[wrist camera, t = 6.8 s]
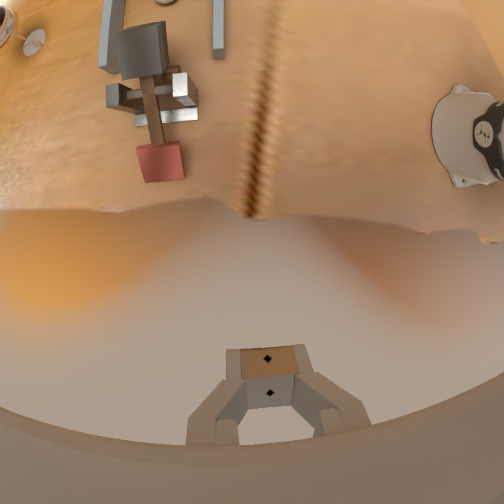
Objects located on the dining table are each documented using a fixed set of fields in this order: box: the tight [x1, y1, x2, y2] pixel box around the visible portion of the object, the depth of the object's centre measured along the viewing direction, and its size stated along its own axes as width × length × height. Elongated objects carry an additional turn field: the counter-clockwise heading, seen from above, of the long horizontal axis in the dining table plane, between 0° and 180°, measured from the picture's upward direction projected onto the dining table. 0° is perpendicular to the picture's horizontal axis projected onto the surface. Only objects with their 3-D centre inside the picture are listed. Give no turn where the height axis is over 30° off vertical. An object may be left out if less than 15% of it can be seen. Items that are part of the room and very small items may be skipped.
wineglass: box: [0, 6, 45, 56], centre depth 19 cm, size 7×7×12 cm
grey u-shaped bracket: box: [98, 0, 224, 74], centre depth 26 cm, size 15×15×5 cm
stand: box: [106, 73, 198, 127], centre depth 28 cm, size 8×4×10 cm, turn 91°
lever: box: [115, 21, 185, 183], centre depth 28 cm, size 5×19×10 cm
